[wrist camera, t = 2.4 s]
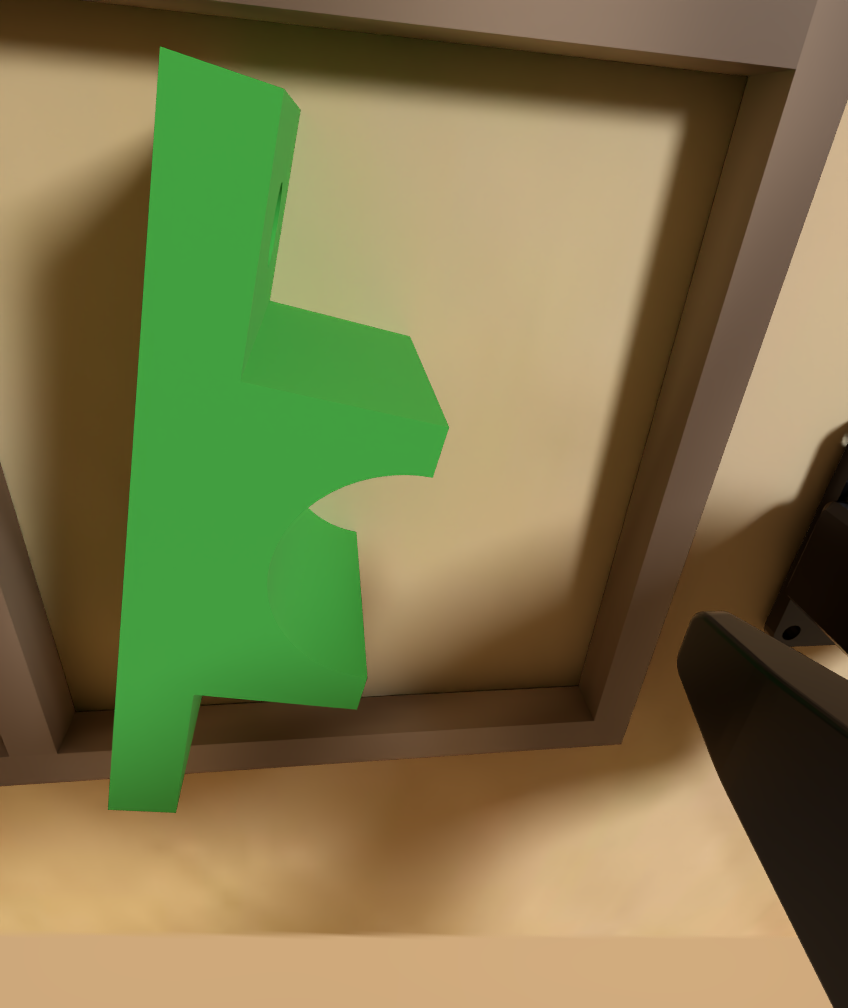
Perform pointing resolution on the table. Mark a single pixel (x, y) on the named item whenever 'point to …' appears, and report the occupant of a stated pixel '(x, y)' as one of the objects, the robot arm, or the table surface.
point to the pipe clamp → (242, 442)
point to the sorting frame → (673, 433)
